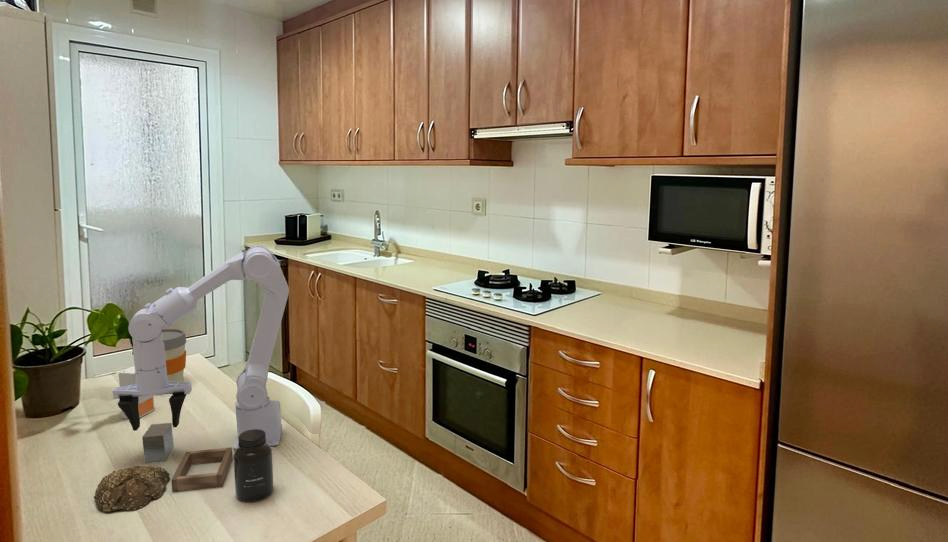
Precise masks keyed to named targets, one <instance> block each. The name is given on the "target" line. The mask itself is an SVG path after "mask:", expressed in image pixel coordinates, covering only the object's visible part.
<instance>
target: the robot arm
mask: <svg viewBox="0 0 948 542" xmlns="http://www.w3.org/2000/svg"><path fill="white" fill-rule="evenodd" d="M246 276H247V277H248V278H249V279H251V280H252V281H254V282H255V283H256V284H258V285H259V287H260V288H261V289H262V291H263V292H264V293H265V295H264V299H263V303H262V305H261V306H262V307H261V310H260V313H259V318H258V321H257V325H256V329H255V332H254V336H253V339H252V344H251V346H250V347H251V348H250V351H249V354H248V358H247V360H246V362H245V365H244V368H243V370H242V372H241V373H239V374H238V376H237V379H236V395H235V396H236V398H235V399H236V402H235V417H236V431H237V437H236V439H235V442H234V445H233V450H237V448H239V445H238V443H239V435H240V434H241V433H243V432H245V431H248V430H253V429H259V430H263V431H265V433H266V443H267V444H268V445H269V446H270V447H274V446H279V445H280V442H281V441H280V440H281V437H282V433H283V424H282V414H281V413H282V412H281V411H282V410H281V402H280V401H279V400H272V399H270V396H268V391H267V390H268V389H267V383H268V382H267V381H268V376H269V370H270V369H269V368H270V364H271V359H272V357H273V353H274V349H275V345H276V342H277V339H278V335H279V331H280V328H281V323H282V320H283V316H284V312H285V310H286V309H285V308H286V305H287V301H288V298H289V293H290V287H289V285H288V282H287V280H286V277H285V276H284V272H283V270H282V268H281V265H280V263H279V260H278V258H277V257H276V256H275V255H274V254H273V253H272V251H271V250H270V249H268V248H267V247H266V246H263V245H253V246H251V247H249V248H248V249H247V250H246V251H245V252H244V251H242V252H240V253H238V254H236V255H234V256H233V257H230V258H229V259H228V260H227V259H226V260H225V261H224V262H223V263H222V264H220V265H218V266H217V267H216V268H215V269H213V270H211V271H210V272H209V273H208V274H206V275H204V276H203V277H202V278H200V279H198V280H197V281H196V282H194V283H192V284H191V285H190V286H189V287H188V286H187V287H183V286H177V287H175V288H173V287H170V288H168V289H167V290H166V291H165V295H163V296H161V297H159V298H158V299H157V300H155V301H154V302H152V303H151V302H148V303H146V304H145V305H144V308H142V309H139V310H138V311H137V312H135V313H134V315H133V317H131V320H130V321H129V324H128V328H127V329H128V333H129V335H130V336H131V339H132V340H131V341H132V353H133V363H134V364H133V366H135V375H136V384H135V385H129V386H122V387H120V386H116V387H115V388H114V389H112V398H113V400H118V402H117V406H118V408H119V409H120V410H121V411H123V412H124V413H125V415H126V416H127V418H128V421H129V424H130V426H131V428H132V431H138V430H139V428H140V427H141V421H140V420H141V419H140V418H139V411H138V398H139V396H150V395H153V396H161V395H163V396H164V395H170V397H169V398H168V402H169V407H170V409H171V423H172V429H173V428H177V427H178V426H179V424H180V418H181V411H182V407H183V405H184V402H185V399H186V396H187V395H190V394H191V393H192V390H193V389H192V388H193V387H192V381H189V382H187V381H186V382H184V381H183V382H171V381H168V379H167V368H166V358H165V347H164V342H163V336H162V331H161V330H162V329H165V328H166V327H171V326H172V325H174V324H175V323H176V322H178V321H179V320H181V319H182V318H184V317H185V316H187V315H188V314H190V313H191V312H193V311H195V310H196V308H197V304H198V301H199V300H200V299H201V298H203V297H205V296H206V295H208V294H210V293H211V292H213V291H215V290H216V289H218V288H220V287H221V286H223V285H225V284H227V283H228V282H229V281H246Z"/></svg>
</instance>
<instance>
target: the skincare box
mask: <svg viewBox="0 0 948 542" xmlns="http://www.w3.org/2000/svg"><path fill="white" fill-rule="evenodd" d="M118 382H119V387H122V386H129V385H135V384H136V375H135V366H134V365H133V366H130V367H127V368H126V369H124V370H122V371H119V372H118ZM155 409H156V408H155V400H154V395H150V396H139V398H138V411H139V418H142V417H145V416H146V415H148V414H149V413H152V412H154V411H155ZM121 411H122V410H121ZM121 413H122V418H123V419H128V418H127V416H126V415H125V413H124V412H123V411H122V412H121ZM128 420H129V419H128Z"/></svg>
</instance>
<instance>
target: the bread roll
mask: <svg viewBox="0 0 948 542" xmlns="http://www.w3.org/2000/svg"><path fill="white" fill-rule="evenodd" d="M170 474H171V473H169V472H168V470H166V469H165V468H164V467H162V466H156V465H155V466H152V465H151V466H150V465H145V466H143V465H142V466H141V465H134V466H133V465H132V466H129V467H128V466H127V467H125V468H120V469H118V470H113V471H112V472H111V473H108V474H107V475H104V476H103V478H102V479H101V480H100V482H99V484H98V485H97V487H96V490H95V492H94V494H95V495H93V499H94V501H95V503H96V506H97V509H98V510H99V511H100V512H102V513H110V512H115V511H118V510H124V511H125V510H127V511H129V512H132V511H138V510H140V509H142V508H145V507H147V506H149V504H150V503H151V502H152V501H155V500H157V499H158V498H161V497H162V496H163V495H164V493H165V492H166V491H167V484H168V483H169V482H170V481H171V477H170Z"/></svg>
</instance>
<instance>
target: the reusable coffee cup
mask: <svg viewBox="0 0 948 542" xmlns="http://www.w3.org/2000/svg"><path fill="white" fill-rule="evenodd" d="M161 331H162V336H163V342H164V347H165V358H166V368H167V379H168V381H171V382H184V374H185V373H184V371H185V370H184V369H186V362H187V351H186V343H187V339H186V333H185V331H184V330H182V329H179V328H178V329H177V328H162V330H161Z"/></svg>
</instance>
